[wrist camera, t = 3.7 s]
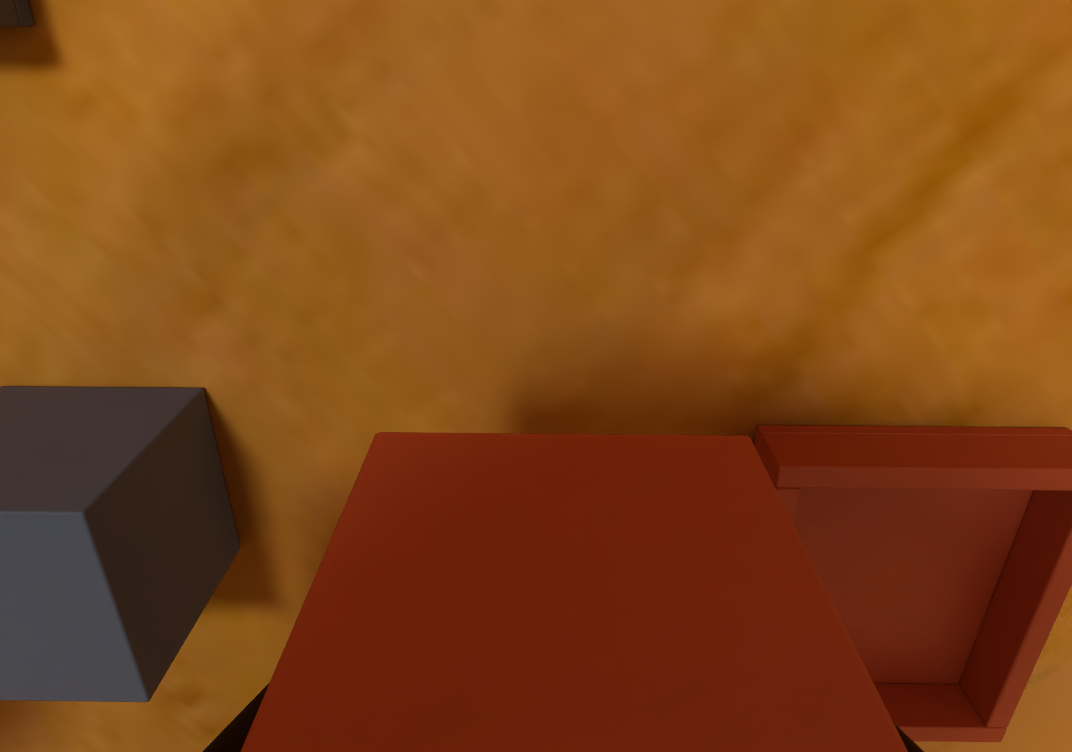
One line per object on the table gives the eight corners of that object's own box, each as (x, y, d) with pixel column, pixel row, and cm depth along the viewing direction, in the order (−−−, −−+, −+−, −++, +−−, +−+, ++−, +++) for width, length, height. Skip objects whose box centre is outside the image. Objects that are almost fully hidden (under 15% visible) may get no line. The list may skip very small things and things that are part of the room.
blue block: (241, 547, 19) (149, 703, 15) (62, 545, 19) (-85, 700, 15) (203, 387, 17) (82, 513, 13) (1, 385, 17) (-192, 510, 13)
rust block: (708, 694, 11) (813, 1121, 7) (404, 690, 12) (314, 1111, 7) (750, 433, 9) (943, 811, 5) (374, 429, 9) (214, 800, 5)
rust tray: (965, 686, 21) (1001, 743, 20) (713, 683, 21) (728, 739, 20) (1068, 426, 17) (1124, 469, 16) (756, 424, 17) (779, 466, 16)
